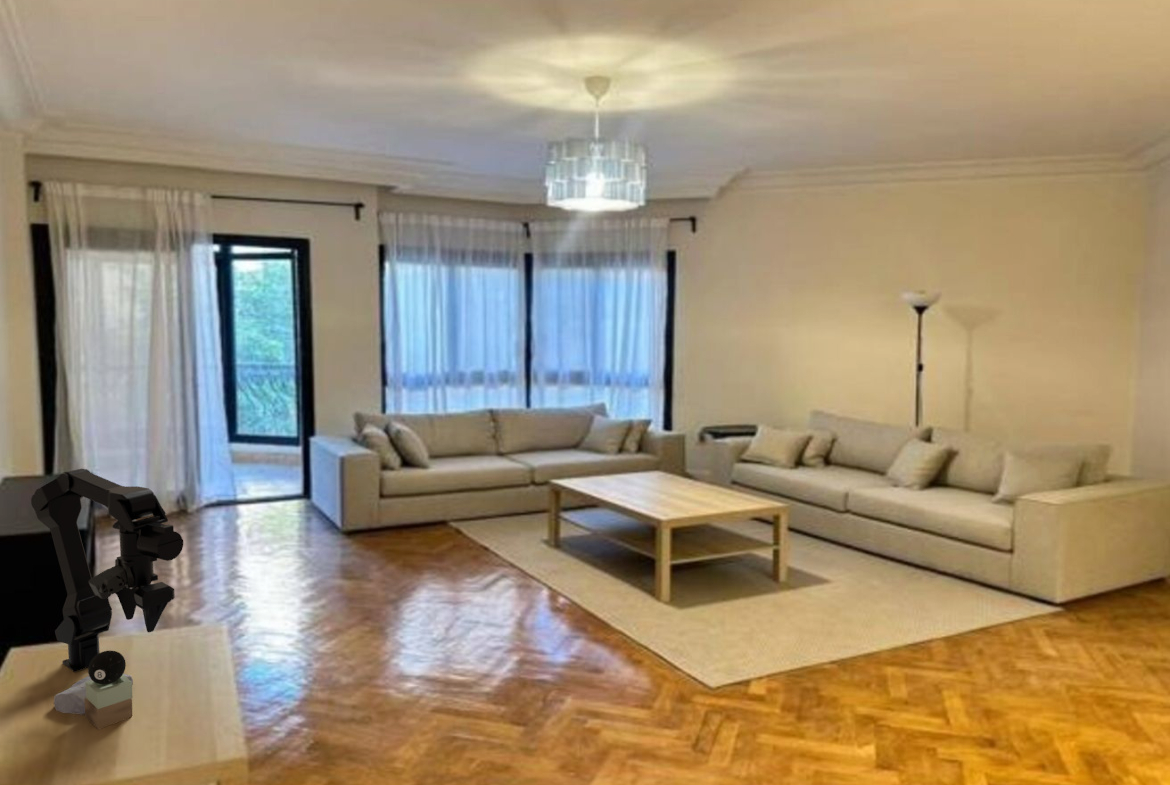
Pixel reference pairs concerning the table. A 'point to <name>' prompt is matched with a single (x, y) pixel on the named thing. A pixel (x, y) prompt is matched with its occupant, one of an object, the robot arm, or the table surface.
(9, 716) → the table surface
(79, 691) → the stone block
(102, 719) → the tower base
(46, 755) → the table surface
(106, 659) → the billiard ball
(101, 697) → the tower cap
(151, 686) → the table surface
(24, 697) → the table surface
